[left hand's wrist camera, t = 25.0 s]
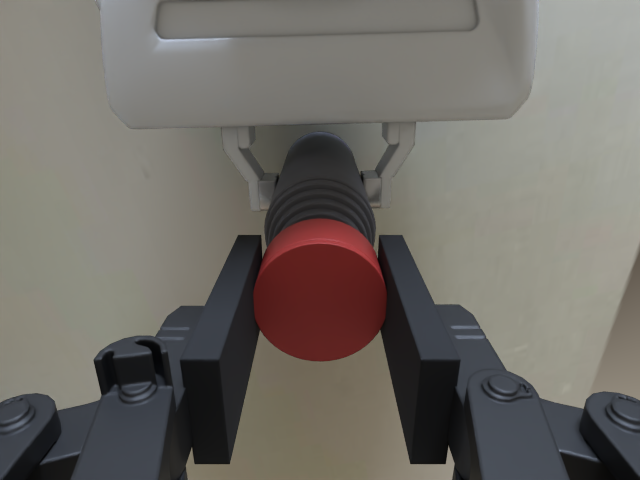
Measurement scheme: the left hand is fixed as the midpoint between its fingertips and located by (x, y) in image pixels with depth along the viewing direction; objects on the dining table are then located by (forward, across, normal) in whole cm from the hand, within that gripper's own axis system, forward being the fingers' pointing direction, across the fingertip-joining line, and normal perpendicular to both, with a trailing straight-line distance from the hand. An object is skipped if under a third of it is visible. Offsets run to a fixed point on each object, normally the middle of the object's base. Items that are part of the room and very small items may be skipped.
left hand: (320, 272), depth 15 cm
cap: (-2, 0, 0) cm, 2 cm away
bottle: (+16, 0, 0) cm, 16 cm away
